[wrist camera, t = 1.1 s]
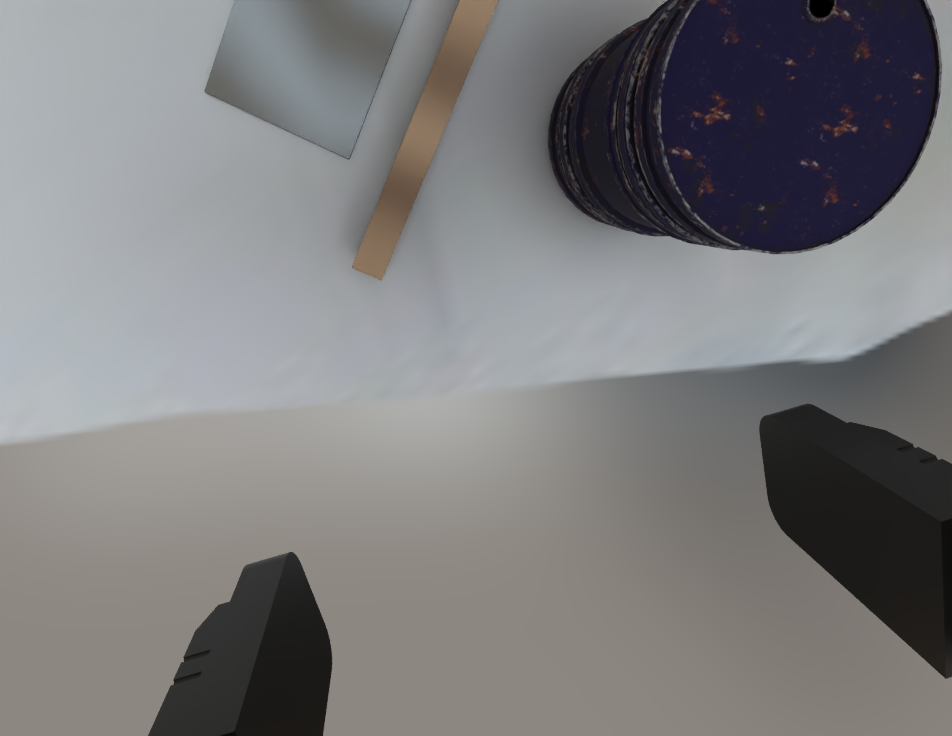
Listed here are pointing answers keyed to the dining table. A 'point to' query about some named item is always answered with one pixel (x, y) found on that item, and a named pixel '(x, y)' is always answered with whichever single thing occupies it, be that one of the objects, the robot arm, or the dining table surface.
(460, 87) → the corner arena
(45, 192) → the dining table surface
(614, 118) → the rusty blue oil drum
